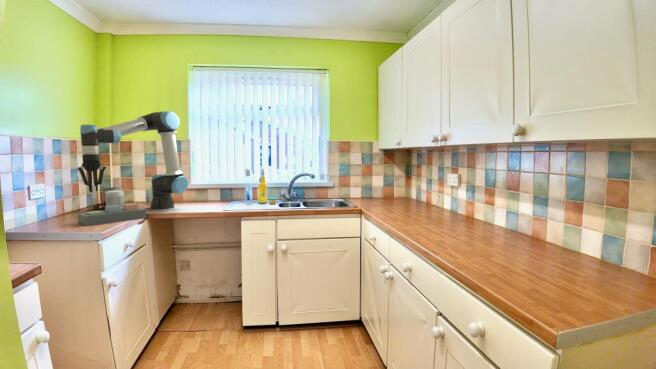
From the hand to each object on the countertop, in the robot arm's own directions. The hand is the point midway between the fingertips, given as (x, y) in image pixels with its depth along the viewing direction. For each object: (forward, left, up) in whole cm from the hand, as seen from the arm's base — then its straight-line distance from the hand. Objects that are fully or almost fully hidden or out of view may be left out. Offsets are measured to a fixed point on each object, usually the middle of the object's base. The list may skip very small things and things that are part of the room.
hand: (94, 197), depth 189 cm
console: (-9, 0, -14) cm, 16 cm away
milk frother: (-20, -47, -14) cm, 53 cm away
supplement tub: (-16, -17, -14) cm, 27 cm away
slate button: (-9, 0, -10) cm, 13 cm away
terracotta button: (-18, 0, -10) cm, 20 cm away
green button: (0, 0, -12) cm, 12 cm away
